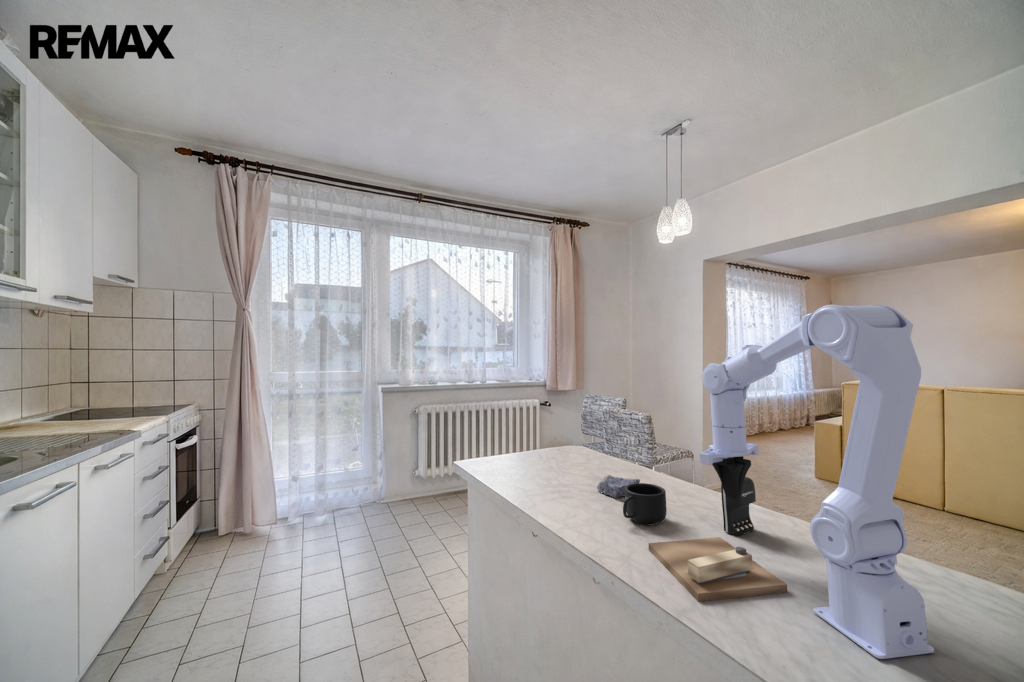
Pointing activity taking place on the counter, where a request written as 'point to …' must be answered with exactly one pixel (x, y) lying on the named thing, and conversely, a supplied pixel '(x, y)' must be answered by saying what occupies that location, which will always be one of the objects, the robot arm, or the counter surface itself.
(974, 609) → the counter surface
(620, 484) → the rock
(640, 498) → the mug
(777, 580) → the board
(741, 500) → the battery charger
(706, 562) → the leg
